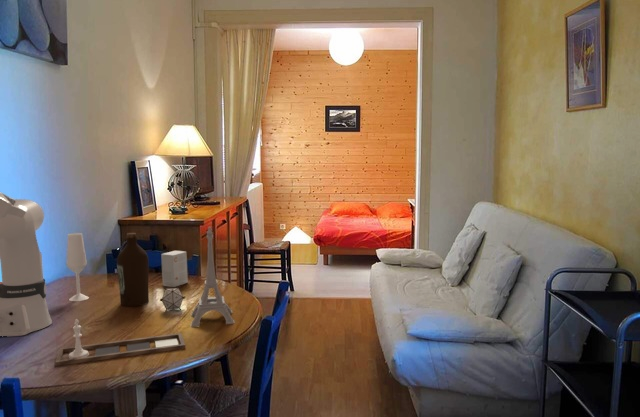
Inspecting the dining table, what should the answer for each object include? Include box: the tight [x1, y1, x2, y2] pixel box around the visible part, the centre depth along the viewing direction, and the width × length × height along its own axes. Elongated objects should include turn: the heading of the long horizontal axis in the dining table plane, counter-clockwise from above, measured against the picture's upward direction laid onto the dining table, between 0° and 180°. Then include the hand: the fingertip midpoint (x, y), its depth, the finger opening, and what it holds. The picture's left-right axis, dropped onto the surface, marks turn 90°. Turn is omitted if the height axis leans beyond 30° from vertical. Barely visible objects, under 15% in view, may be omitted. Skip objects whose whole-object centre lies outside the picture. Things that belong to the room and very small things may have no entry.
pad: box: [154, 338, 179, 348], centre depth 147 cm, size 6×7×1 cm
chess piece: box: [68, 318, 90, 359], centre depth 139 cm, size 5×5×10 cm
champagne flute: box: [66, 232, 90, 302], centre depth 191 cm, size 7×7×24 cm
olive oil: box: [116, 232, 150, 307], centre depth 186 cm, size 11×11×25 cm
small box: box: [160, 250, 189, 288], centre depth 212 cm, size 8×6×13 cm
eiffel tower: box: [190, 226, 235, 328], centre depth 168 cm, size 13×13×30 cm
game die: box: [159, 285, 186, 313], centre depth 178 cm, size 9×8×10 cm
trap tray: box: [55, 332, 186, 367], centre depth 143 cm, size 32×10×1 cm, turn 111°
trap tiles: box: [94, 342, 151, 356], centre depth 143 cm, size 14×7×1 cm, turn 111°
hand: (18, 208), depth 126 cm, fingers open, 8 cm apart
